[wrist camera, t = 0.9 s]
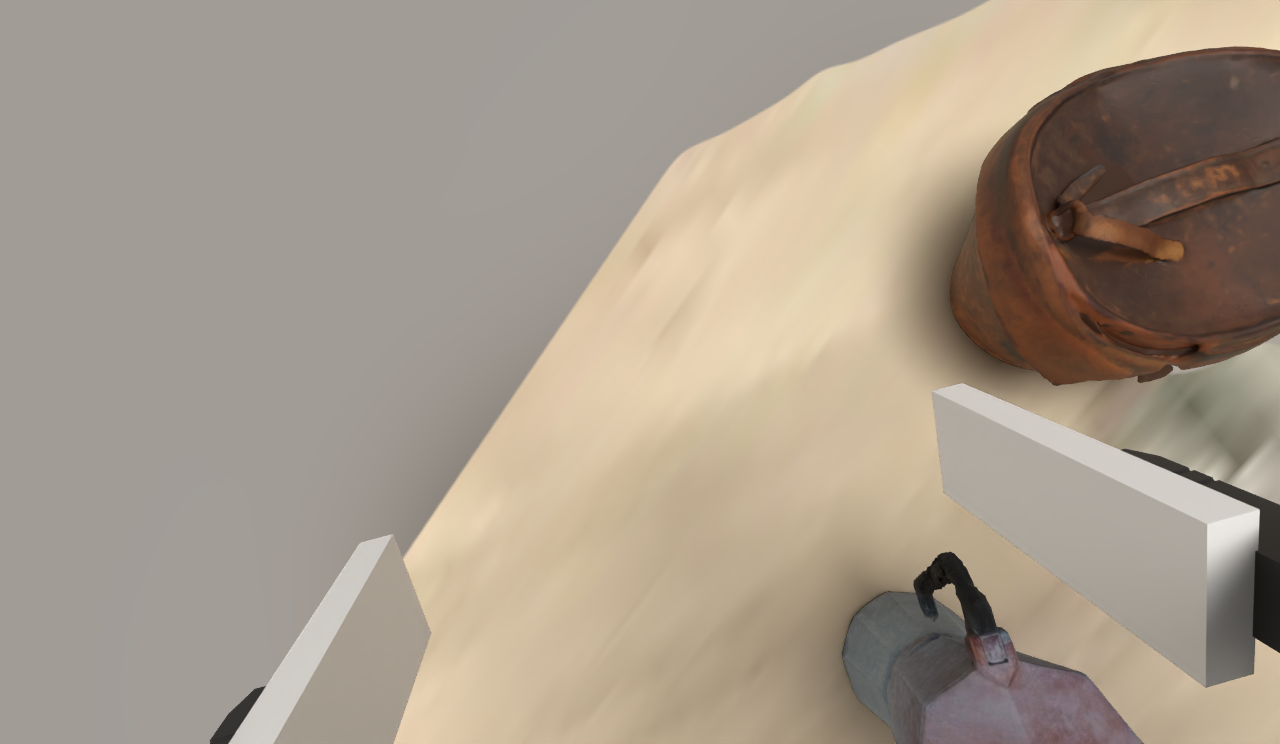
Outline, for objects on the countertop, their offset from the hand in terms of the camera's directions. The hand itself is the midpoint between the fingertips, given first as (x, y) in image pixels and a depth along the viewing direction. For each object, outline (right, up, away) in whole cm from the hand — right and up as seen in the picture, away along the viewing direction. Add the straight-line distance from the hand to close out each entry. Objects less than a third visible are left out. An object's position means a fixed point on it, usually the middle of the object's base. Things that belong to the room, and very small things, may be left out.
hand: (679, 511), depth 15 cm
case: (+29, +9, +32) cm, 44 cm away
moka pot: (+17, -16, +28) cm, 37 cm away
